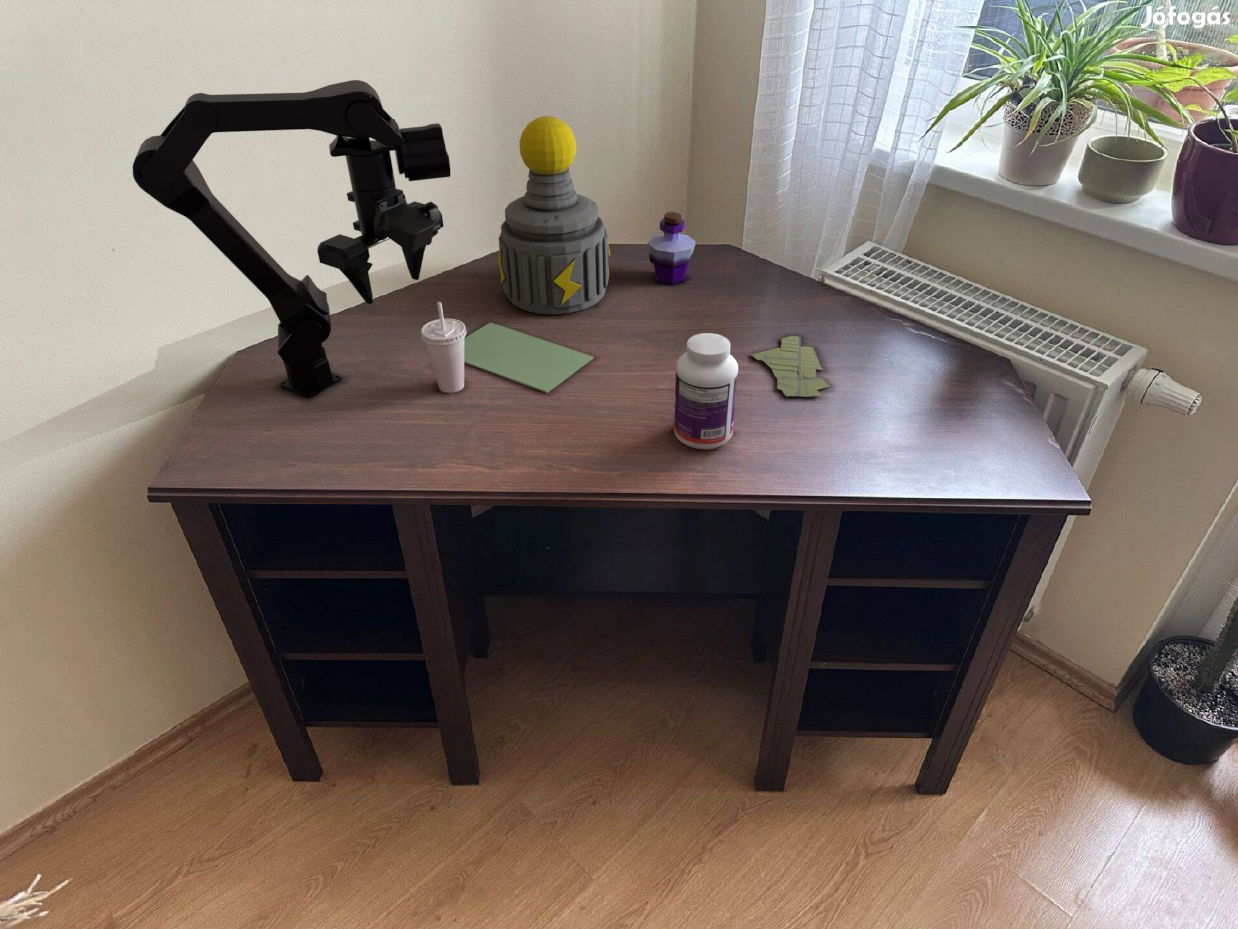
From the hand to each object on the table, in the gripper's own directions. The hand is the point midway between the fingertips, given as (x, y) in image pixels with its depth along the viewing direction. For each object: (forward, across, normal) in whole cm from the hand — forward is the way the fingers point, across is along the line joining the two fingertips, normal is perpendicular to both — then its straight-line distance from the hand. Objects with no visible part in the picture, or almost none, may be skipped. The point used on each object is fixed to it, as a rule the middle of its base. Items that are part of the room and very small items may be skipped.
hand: (393, 291), depth 126 cm
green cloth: (+13, +12, -12) cm, 21 cm away
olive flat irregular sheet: (+13, +32, -49) cm, 60 cm away
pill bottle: (+13, +9, -47) cm, 50 cm away
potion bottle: (+13, +49, -18) cm, 54 cm away
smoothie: (+13, 0, -9) cm, 16 cm away
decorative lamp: (+13, +33, -4) cm, 36 cm away
